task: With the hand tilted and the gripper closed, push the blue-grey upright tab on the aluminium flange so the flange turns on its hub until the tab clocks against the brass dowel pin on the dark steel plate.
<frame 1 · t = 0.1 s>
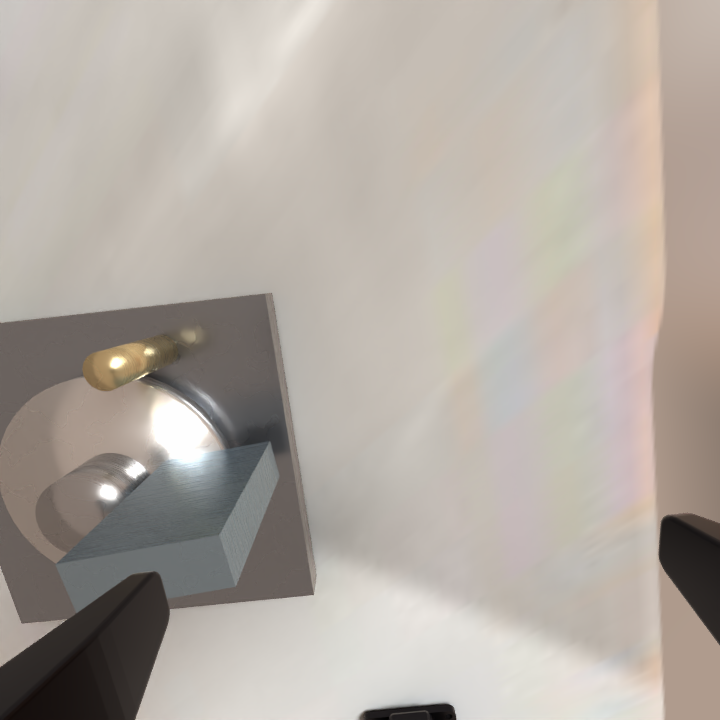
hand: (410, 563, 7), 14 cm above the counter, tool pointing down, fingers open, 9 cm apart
locating plate: (146, 462, 22), on the counter
flange: (99, 521, 16), point 6 cm above the counter, hinge at 0.0°
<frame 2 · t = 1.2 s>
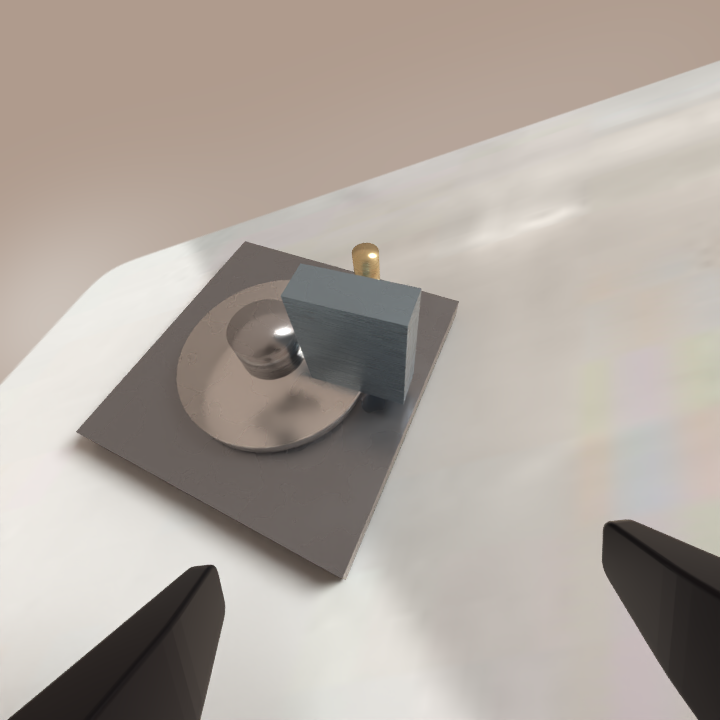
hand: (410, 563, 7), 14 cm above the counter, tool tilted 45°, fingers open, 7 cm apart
locating plate: (285, 374, 25), on the counter
flange: (279, 326, 20), point 6 cm above the counter, hinge at 0.0°
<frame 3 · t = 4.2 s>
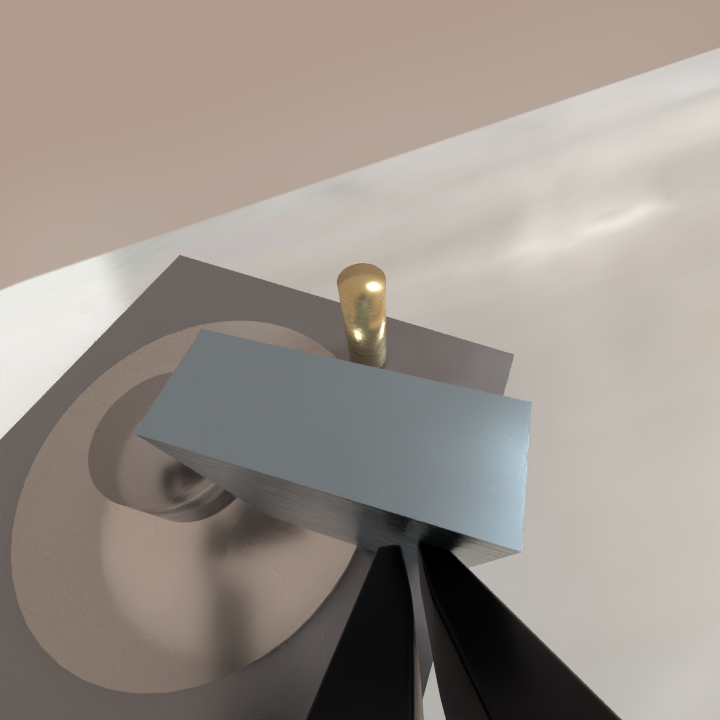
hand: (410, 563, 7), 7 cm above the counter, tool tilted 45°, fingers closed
locating plate: (229, 480, 15), on the counter
flange: (190, 437, 10), point 6 cm above the counter, hinge at 2.1°, touching gripper
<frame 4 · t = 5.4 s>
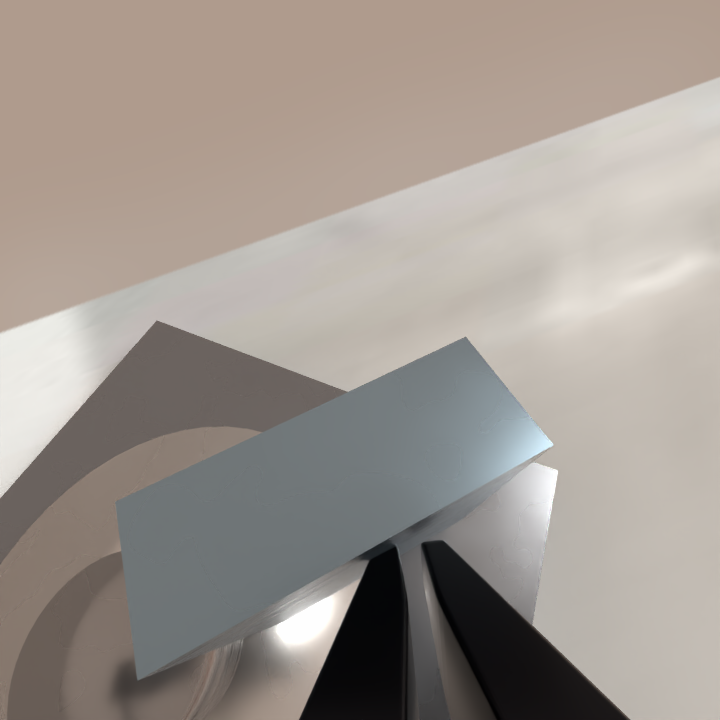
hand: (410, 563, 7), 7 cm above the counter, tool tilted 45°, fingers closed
locating plate: (212, 628, 12), on the counter
flange: (157, 626, 7), point 6 cm above the counter, hinge at 45.2°, touching gripper, locating plate
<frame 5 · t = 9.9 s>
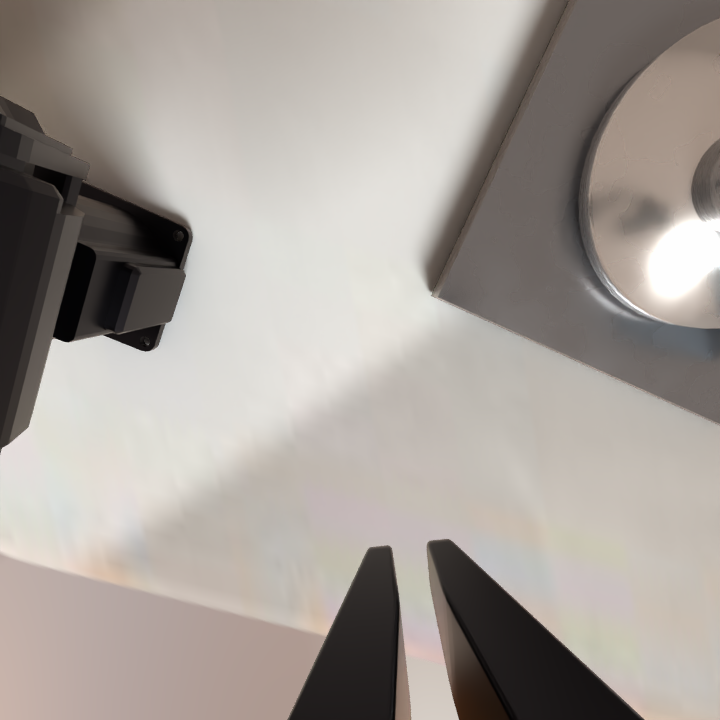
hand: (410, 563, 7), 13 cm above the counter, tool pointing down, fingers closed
locating plate: (680, 197, 18), on the counter
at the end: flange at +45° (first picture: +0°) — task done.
